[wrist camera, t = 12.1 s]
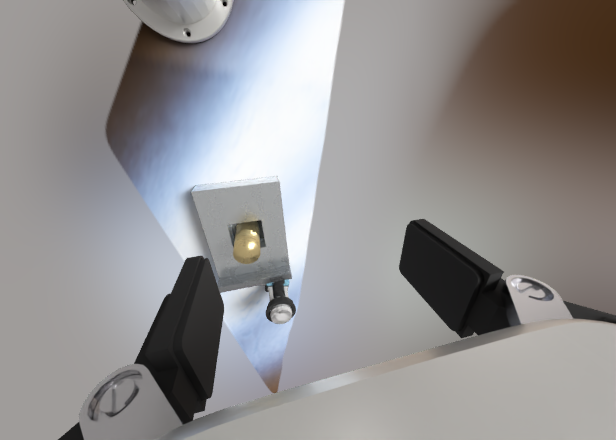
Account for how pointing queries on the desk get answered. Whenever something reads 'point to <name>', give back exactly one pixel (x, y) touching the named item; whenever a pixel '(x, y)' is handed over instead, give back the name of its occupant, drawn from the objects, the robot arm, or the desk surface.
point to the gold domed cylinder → (247, 242)
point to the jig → (238, 209)
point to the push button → (279, 302)
